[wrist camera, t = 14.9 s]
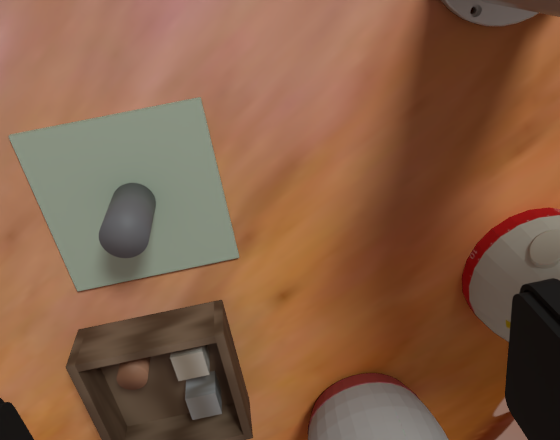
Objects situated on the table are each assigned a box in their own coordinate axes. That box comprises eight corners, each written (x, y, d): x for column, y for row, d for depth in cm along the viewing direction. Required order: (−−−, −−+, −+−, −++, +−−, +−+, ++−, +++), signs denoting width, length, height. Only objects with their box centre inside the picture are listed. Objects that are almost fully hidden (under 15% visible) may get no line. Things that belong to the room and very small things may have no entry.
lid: (200, 95, 40) (199, 120, 34) (238, 252, 48) (243, 296, 41) (12, 132, 40) (-23, 165, 34) (79, 285, 47) (60, 335, 41)
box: (222, 299, 49) (223, 334, 45) (249, 399, 56) (252, 438, 51) (78, 329, 49) (65, 367, 44) (123, 427, 55) (116, 467, 51)
